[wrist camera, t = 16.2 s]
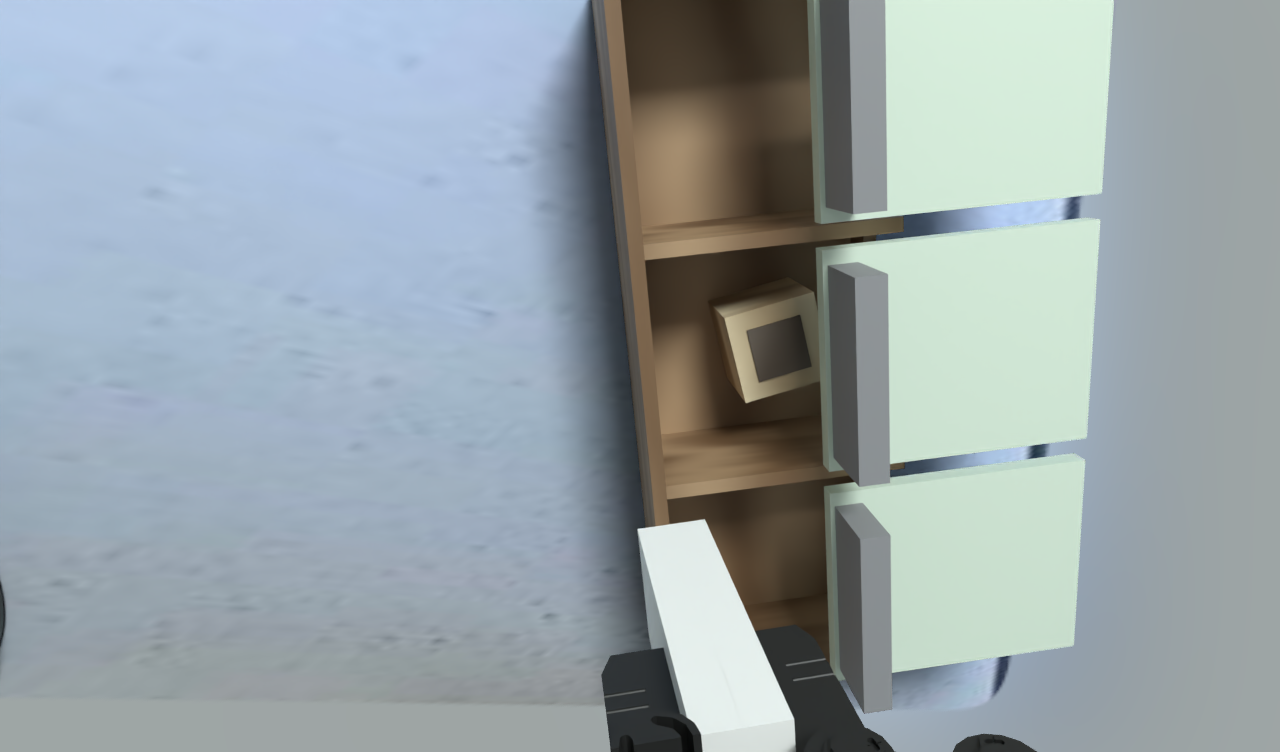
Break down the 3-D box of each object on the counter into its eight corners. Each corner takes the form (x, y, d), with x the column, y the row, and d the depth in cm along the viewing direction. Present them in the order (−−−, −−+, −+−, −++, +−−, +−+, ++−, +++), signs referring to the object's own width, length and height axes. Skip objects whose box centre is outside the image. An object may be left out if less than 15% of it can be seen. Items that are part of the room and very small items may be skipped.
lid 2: (823, 464, 35) (854, 502, 31) (815, 247, 32) (848, 261, 29) (1075, 431, 36) (1134, 464, 32) (1087, 217, 33) (1153, 227, 30)
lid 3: (830, 670, 38) (859, 726, 34) (823, 486, 35) (855, 526, 32) (1063, 635, 39) (1116, 687, 35) (1073, 453, 36) (1132, 488, 33)
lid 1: (814, 222, 32) (848, 232, 29) (805, -38, 30) (841, -63, 26) (1089, 192, 33) (1155, 198, 29) (1103, -64, 30) (1178, -91, 27)
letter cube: (727, 378, 40) (746, 403, 37) (707, 300, 39) (725, 318, 35) (807, 354, 41) (835, 377, 37) (790, 276, 39) (816, 291, 35)
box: (655, 619, 45) (673, 704, 38) (590, -10, 36) (599, -43, 29) (863, 589, 45) (917, 667, 39) (851, -32, 37) (918, -70, 30)
